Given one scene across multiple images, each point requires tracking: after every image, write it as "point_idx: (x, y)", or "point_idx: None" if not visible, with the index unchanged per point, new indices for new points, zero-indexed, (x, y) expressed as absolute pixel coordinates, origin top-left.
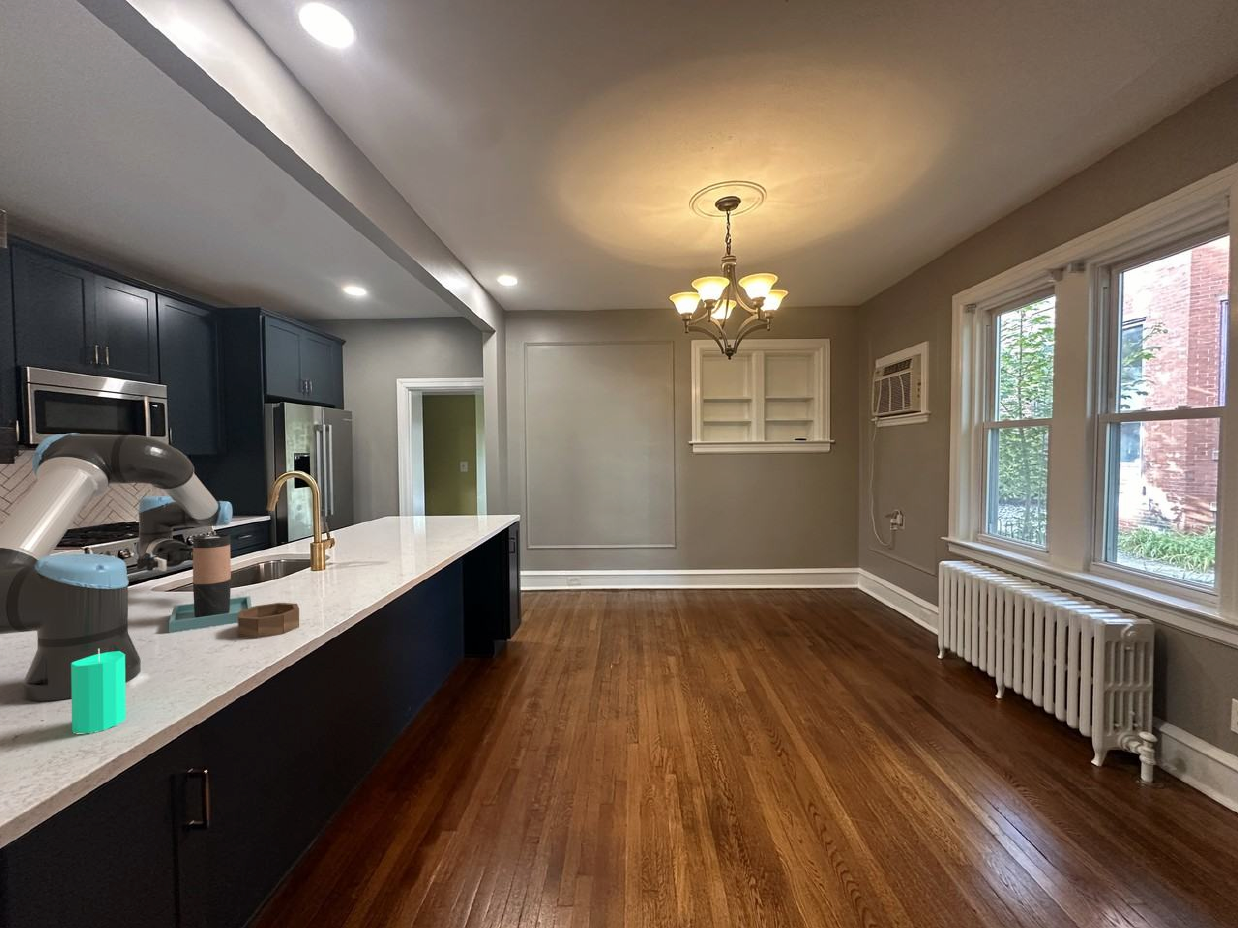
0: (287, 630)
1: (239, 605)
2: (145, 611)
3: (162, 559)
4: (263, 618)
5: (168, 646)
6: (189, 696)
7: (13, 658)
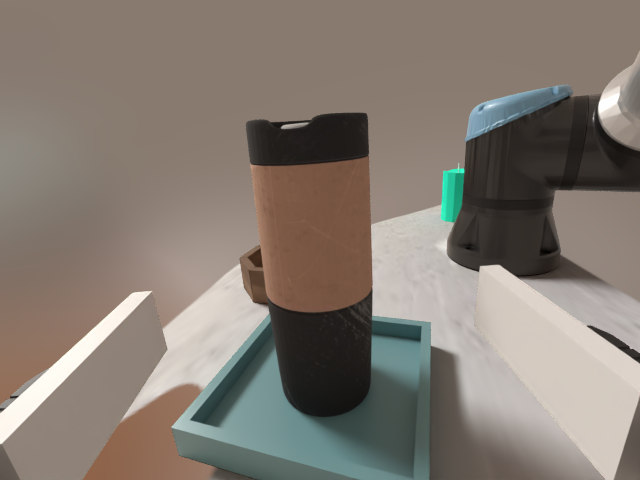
0: None
1: (231, 417)
2: None
3: (515, 288)
4: None
5: (424, 292)
6: (404, 222)
7: None
